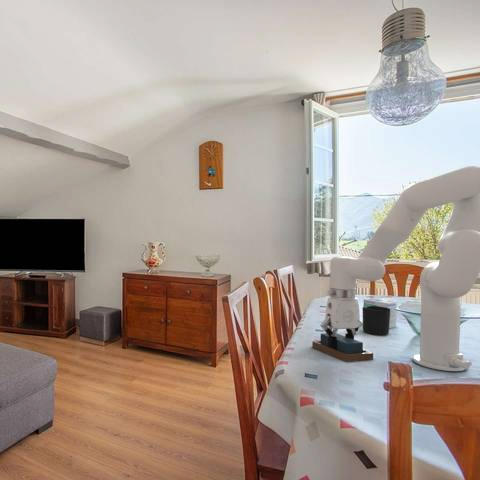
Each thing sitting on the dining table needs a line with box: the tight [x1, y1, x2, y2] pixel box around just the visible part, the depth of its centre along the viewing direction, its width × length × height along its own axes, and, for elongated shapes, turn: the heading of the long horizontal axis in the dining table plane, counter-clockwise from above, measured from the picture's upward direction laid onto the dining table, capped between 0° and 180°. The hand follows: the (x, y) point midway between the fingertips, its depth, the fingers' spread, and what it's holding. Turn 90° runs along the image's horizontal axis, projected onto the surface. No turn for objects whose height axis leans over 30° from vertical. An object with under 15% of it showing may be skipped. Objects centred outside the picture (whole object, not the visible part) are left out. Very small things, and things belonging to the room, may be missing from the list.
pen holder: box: [362, 306, 390, 336], centre depth 160 cm, size 9×9×10 cm
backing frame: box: [311, 340, 374, 363], centre depth 135 cm, size 16×10×2 cm, turn 13°
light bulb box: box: [362, 297, 398, 329], centre depth 173 cm, size 11×7×11 cm, turn 25°
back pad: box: [320, 332, 364, 354], centre depth 135 cm, size 12×6×4 cm, turn 13°
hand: (340, 346), depth 135 cm, fingers closed on back pad, 6 cm apart
